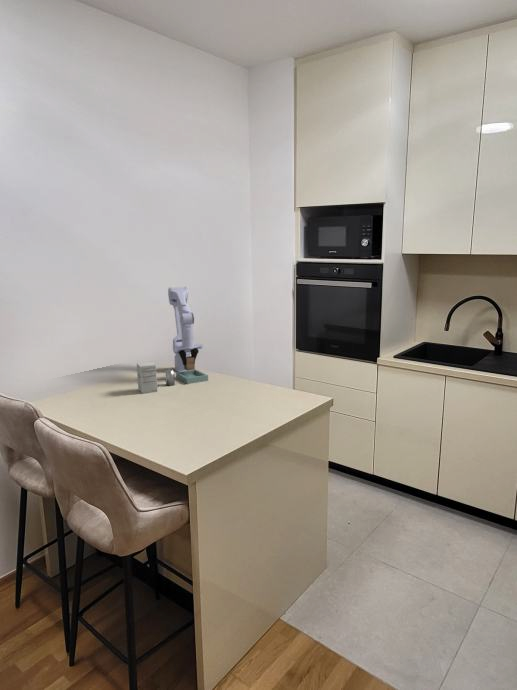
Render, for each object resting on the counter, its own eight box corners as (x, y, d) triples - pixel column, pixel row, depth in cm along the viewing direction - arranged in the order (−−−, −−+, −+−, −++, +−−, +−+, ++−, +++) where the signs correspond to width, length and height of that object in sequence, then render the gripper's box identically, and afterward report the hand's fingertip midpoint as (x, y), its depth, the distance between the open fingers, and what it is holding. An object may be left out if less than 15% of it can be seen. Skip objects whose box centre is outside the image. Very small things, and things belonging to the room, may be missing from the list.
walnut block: (184, 368, 236) (183, 357, 234) (191, 367, 238) (191, 356, 236) (187, 370, 232) (186, 358, 231) (194, 369, 234) (194, 357, 233)
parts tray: (176, 377, 237) (175, 372, 236) (196, 374, 242) (196, 369, 242) (187, 384, 225) (186, 378, 225) (208, 380, 231) (208, 375, 230)
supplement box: (138, 389, 218) (136, 362, 215) (154, 387, 221) (152, 361, 218) (141, 393, 211) (139, 366, 209) (157, 391, 214) (156, 364, 212)
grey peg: (165, 384, 225) (164, 370, 224) (172, 383, 227) (172, 369, 226) (168, 386, 222) (167, 372, 220) (176, 385, 224) (175, 370, 222)
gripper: (176, 340, 225) (178, 368, 228) (204, 337, 232) (205, 363, 235) (171, 338, 231) (172, 365, 234) (198, 334, 238) (199, 361, 241)
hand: (188, 364), depth 235 cm, fingers closed on walnut block, 4 cm apart
